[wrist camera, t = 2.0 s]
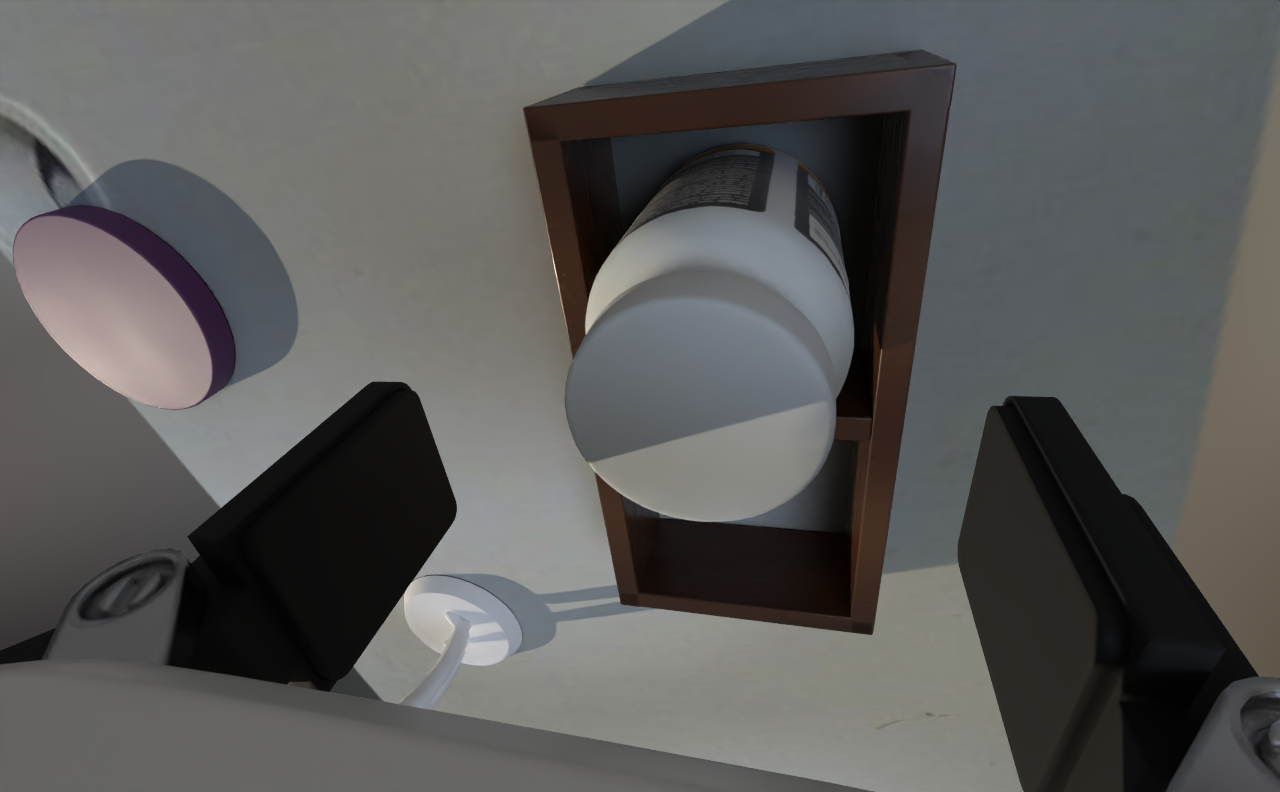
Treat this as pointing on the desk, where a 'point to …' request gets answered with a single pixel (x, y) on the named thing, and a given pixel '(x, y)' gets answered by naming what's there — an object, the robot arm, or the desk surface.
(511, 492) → the desk surface
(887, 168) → the rack
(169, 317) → the disc
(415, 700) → the figurine
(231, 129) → the desk surface
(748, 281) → the pill bottle
